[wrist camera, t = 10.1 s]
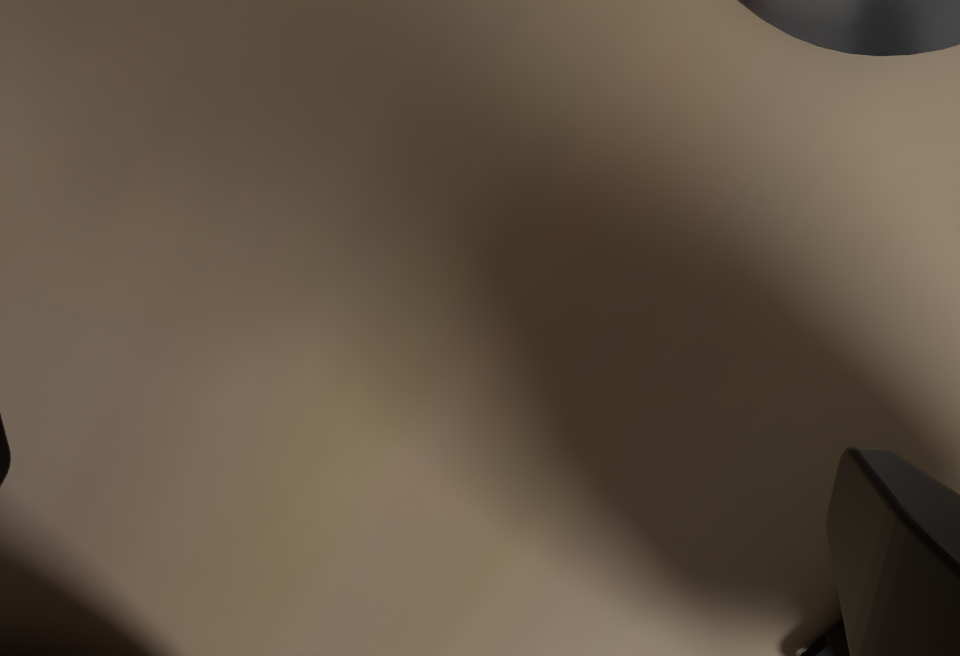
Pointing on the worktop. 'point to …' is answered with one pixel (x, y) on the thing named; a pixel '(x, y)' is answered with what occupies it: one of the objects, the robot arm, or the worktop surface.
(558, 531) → the worktop surface
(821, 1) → the round metal saucer
